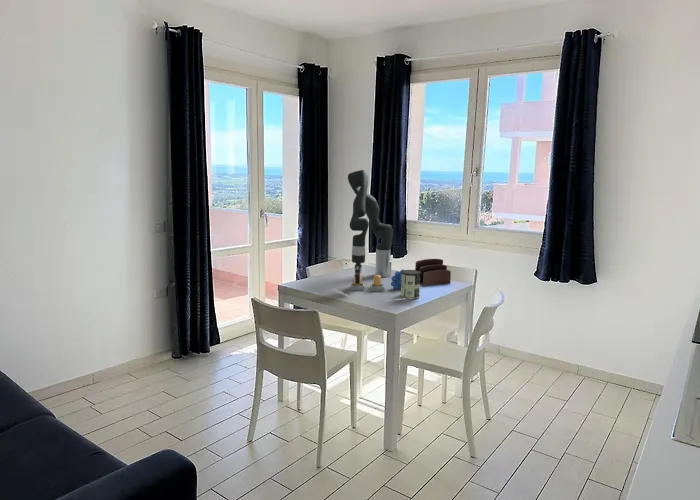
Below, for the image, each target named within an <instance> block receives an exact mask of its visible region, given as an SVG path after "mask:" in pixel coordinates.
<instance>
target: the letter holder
mask: <svg viewBox="0 0 700 500" xmlns="http://www.w3.org/2000/svg"><path fill="white" fill-rule="evenodd" d="M414 267H415V268H414V270H417V271H420V272H421V273H420V285H421V286H433V285H432V284H434V285H441V284H443V285H444V284H451V283H452V282H451V281H452V280H451V278H452V271H451V270H449V269H448V266H447V265H446V264H444V260H443V259H441V258H427V259H425V258H424V259H420V260H417V261H416V262H415V266H414Z"/></svg>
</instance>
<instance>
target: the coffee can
mask: <svg viewBox="0 0 700 500" xmlns="http://www.w3.org/2000/svg"><path fill="white" fill-rule="evenodd" d="M402 270H403V271H401V270H400V271H401V273H402V275H401V289H400V296H401V297H402V298H403V299H404V298H406V300H415V299H414V298H418V299H419V298H420V287H421V286H420V285H421V284H420V273H421V272H420V271H417V270H415V269H402Z"/></svg>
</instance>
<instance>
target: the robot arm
mask: <svg viewBox="0 0 700 500" xmlns="http://www.w3.org/2000/svg"><path fill="white" fill-rule="evenodd" d="M347 181H348V184H349V185H350V187H351V189H352V190H353V193H354V194H355V197H354V200H353V202H352V216H351V218H350V222H349V228H350V230H352V231H354V232H355V231H357V232H361V233H359V234H354V235H352V246H351V262H352V263H354V275H355V277H356V280H355V283H356V284H359V281H360V275H362V274H361V273H362V266H363V265H362V264H364V263H366V236H367V233H368V228H369V226H370V227H371V229H372V231H373V234H374V236H375V237H376V238H377V239H378V238H379V239H382V241H381V242H380V243H377V244H376V247H375V270H374V271H375V274H374V275H381V278H387V277H390V276H391V277H392V261H391V251H392V250H391V249H392V245H393V237H394V230H393V227H392V225H391V224H386V223H382V222H381V221H380V219H379V214H380V213H379V212H380V206H379V204H378V201H377V200H376V198H375V197H374V196H373V195H371V194H370V193H368V187H369V176H368V172H367V171H366V170H365V169H359V170H356V171H353V172H350V173H348V175H347ZM365 215H366V217H367V218H364V217H365ZM356 274H359V275H356Z"/></svg>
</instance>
